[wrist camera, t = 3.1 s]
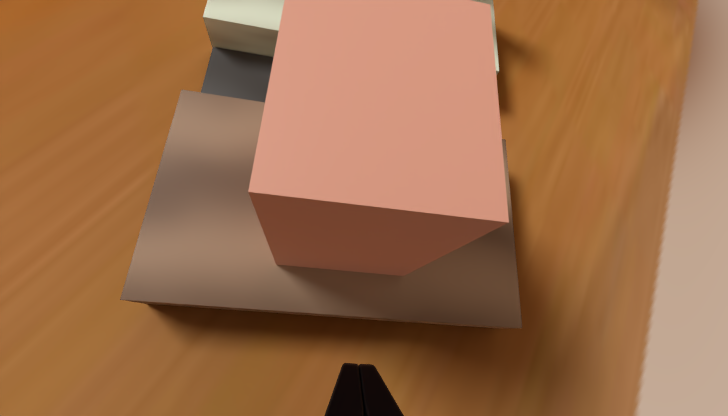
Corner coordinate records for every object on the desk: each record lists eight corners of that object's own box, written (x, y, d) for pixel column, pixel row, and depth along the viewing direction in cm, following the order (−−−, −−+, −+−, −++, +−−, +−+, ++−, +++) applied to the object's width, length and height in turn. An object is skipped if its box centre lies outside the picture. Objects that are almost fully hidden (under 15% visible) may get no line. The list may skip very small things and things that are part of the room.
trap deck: (495, 328, 19) (566, 328, 14) (145, 303, 17) (76, 292, 11) (475, 16, 27) (516, -58, 22) (235, -34, 24) (218, -130, 19)
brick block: (403, 276, 17) (508, 222, 8) (275, 264, 16) (248, 192, 7) (406, 147, 19) (490, 4, 11) (295, 131, 18) (291, -38, 10)
